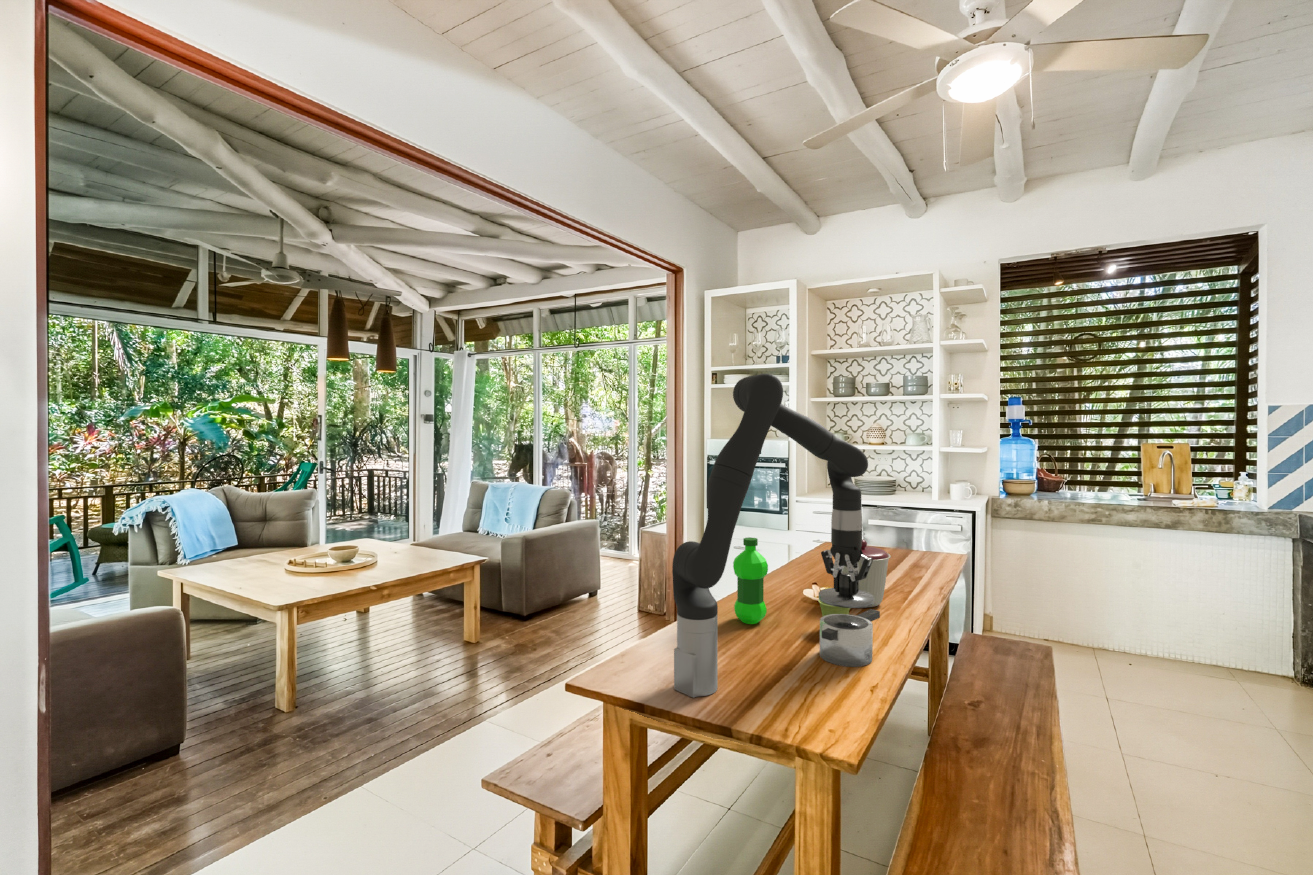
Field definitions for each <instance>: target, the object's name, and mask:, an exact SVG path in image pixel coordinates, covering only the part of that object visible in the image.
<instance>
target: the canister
mask: <svg viewBox="0 0 1313 875" xmlns="http://www.w3.org/2000/svg"><path fill="white" fill-rule="evenodd" d="M861 550H862V552H863V555H864V556H866V557H868V558H870V557H871V558H872V559H873V562H872V564H871V567H870V569H869V572H868V574H867V577H866V578H865V579H862V580H859V590H861V591H865V592H868V593H870V594H872V595H873V596H874V604H873V605H871V606H869V607H864V608H875V607H877V606H880V605H881V603H882V602H883V599H884V595H885V588H886V583H887V582H886V580H887V574H888V564H889V559H891V556H892V555H891V554H890V553H888V552H887V551H885V550H884V549H882V548H880V547H875V546H869V545H868V542H867V540H865V539H862V546H861ZM858 565H859V571H860V569H861V566H862V564H861V559H860V560H859V562H858ZM842 573H849V572H848V568H847V567H846V566H844V568H843V571H842Z"/></svg>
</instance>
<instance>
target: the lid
mask: <svg viewBox="0 0 1313 875" xmlns="http://www.w3.org/2000/svg"><path fill="white" fill-rule="evenodd" d="M850 581H851V578H850V573H840V574H839V592H835V589H834V587H829V588H824V589H821V590H819V591H818V600H820V601H821V602H823V603H825V604H828V605H832V606H836V607H843V608H850V609H862V608H864V607H866V608H867V607H868V608H870V607H869V606H871V605H873V604H874V596H873V595H872V594H870V593H868V592H865V591H861V590H859V591H858V593H857V594H856V595H854V596H852V595H850Z"/></svg>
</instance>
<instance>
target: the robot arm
mask: <svg viewBox="0 0 1313 875" xmlns="http://www.w3.org/2000/svg"><path fill="white" fill-rule="evenodd" d="M783 396H784V387H783V384H782V382H781V380H780V379H779V377H778V376H776V375H775V374H772V373H761V374H754V375H749V376H748V375H747V376H744V377H743V378H741V379H739V380H738V381H737V382H736V384H735V385H734V387H733V391H732V397H733V400H734V403H735V405H736V406H737V407H738V409H739V410H740V411H741V412H743V414H742V418H741V421H740V422H739V424H738V426H737V428H736V430H735V431H734V432H733V434H732V436H731V437H730V439H728V441H727V442H726V443H725V445H724V446H723V448H722V449H721V451H719V453H718V455H717V457H716V459H715V462H714V463H713V466H712V469H711V471H710V475H709V478H708V481H707V483H706V484H707V486H706V502H707V503H706V504H707V521H706V524H705V525H706V526H705V528H704V532H703V534H702V536H701V540H700V542H697V541H691V540H690V541H685V542H682V543H681V544H680V545H678V547H677V549H676V550H675V552H674V555H673V558H672V565H671V566H672V568H671V569H672V574H671V575H672V592H673V593H672V594H673V600H674V603H675V606H676V625H677V626H676V641H677V642H676V647H675V648H674V649H673V690H675V691H677V692H679V693H682V694H684V695H686V696H688V697H690V698H693V699H694V698H697V697H705V696H710V695H712V694H714V693H716V692H717V690H718V670H719V669H718V666H719V665H718V622H719V620H718V612H719V611H718V610H719V609H718V602H717V599H715V597H714V596H713V595H712V593H711V591H710V589H711V588H713V587H714V586H715V585H717V584H718V583H719V581H720V580H721V578H722V576H723V575H724V572H725V569H726V566H727V562H728V557H729V552H730V548H731V544H732V540H733V535H734V532H735V528H736V526H737V522H738V519H739V516H740V514H741V510H742V507H743V503H744V500H745V499H746V496H747V493H748V490H749V488H750V485H751V482H752V478H753V475H754V472H755V468H756V465H757V462H758V461H759V458H760V455H761V451H762V450H763V447H764V443H765V441H766V437H767V435H768V432H769V431H770V429H771V427H773V429H776V430H778V431H779V432H781V433H783V435H786V436H787V437H788V438H790V440H793V441H794V442H795V443H797V444H798V445H799V446H801V447H802V448H804V449H805V450H807V451H808V452H809V453H811V454H812V455H813V456H815V457H816V458H817V459H821V460H825V461H827V462H826V468H827V475H828V479H829V483H830V487H831V491H832V512H831V525H830V527H831V531H830V532H831V534H830V537H831V538H830V541H831V542H830V543H831V546H830V549H825V550H822V551H821V552H820V555H821V557H822V561H823V564H824V568H825V571H826V573H827V574H828V575H829V574H830V575H831V576H832V577H833V588H834V589H835V592H839V574H840V573H842V571H843V568H844V566H846V567H847V568H848V572H849V573H850V578H851V581H850V595H852V596H854V595H856V594H857V593H858V591H859V580H862V579H865V578H866V577H867V574H868V572H869V569H870V567H871V564H872V562H873V559H872V558H871V557H870V558H868V557H866V556H864V555H863V552H862V550H861V546H862V540H863V516H862V515H863V514H862V490H861V489H860V487H859V486H856V485H855V484H854V482H853V479H852V478H857V477H861V476H863V475H864V474H865V473H866V472H867V471H868V467H869V461H868V458H867V456H866V454H865V453H864V452H863V451H862V450H861V449H860V448H858V447H857V446H855V445H853V444H852V443H850V442H847V441H846V440H844V439H841V438H840V437H838V436H836V435H835V434H833V432H831V431H830V430H828V428H826V427H824V426H823V425H822V424H821V423H820V422H818V421H816V420H815V419H813V418H810V417H809V416H807V415H804V414H802V413H800V412H798V411H796V410H793V409H791V408H790V407H788V406H786V405H784V404H783V403H782V402H783ZM860 559H861V564H862V566H861V569H860V571H859V565H858V562H859V560H860Z"/></svg>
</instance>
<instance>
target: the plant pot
mask: <svg viewBox="0 0 1313 875" xmlns="http://www.w3.org/2000/svg"><path fill="white" fill-rule="evenodd" d="M817 600H818V603H819V607H820V610H821V617H823V616H826V615H831V614H848V615H850V610H851V608H843V607H836V606H832V605H828V604H825V603H823V602H821V601H820V600H819V599H817Z"/></svg>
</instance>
